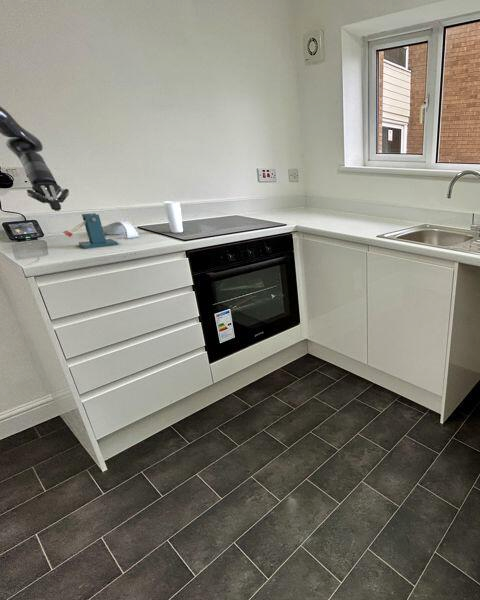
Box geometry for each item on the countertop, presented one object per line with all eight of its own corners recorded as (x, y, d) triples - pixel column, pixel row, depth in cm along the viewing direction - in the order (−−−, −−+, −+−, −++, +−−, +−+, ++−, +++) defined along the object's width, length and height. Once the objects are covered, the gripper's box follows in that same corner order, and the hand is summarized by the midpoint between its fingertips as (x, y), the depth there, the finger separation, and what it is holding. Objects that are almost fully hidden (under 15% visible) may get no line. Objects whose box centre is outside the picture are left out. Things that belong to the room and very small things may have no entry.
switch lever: (71, 238, 139) (65, 233, 138) (67, 235, 143) (61, 231, 141) (99, 220, 145) (94, 215, 143) (94, 218, 148) (89, 213, 147)
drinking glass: (183, 230, 184) (178, 201, 178) (186, 232, 179) (180, 202, 174) (168, 231, 180) (162, 201, 174) (170, 234, 175) (164, 203, 170)
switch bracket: (85, 248, 142) (76, 216, 138) (79, 245, 147) (69, 214, 143) (118, 244, 151) (110, 214, 146) (110, 241, 156) (103, 212, 151)
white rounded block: (94, 233, 169) (90, 218, 166) (122, 230, 179) (118, 216, 176) (119, 240, 159) (115, 224, 156) (147, 236, 168) (144, 221, 166)
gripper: (16, 168, 135) (33, 204, 133) (61, 169, 145) (78, 202, 143) (18, 182, 140) (35, 217, 138) (62, 182, 150) (78, 214, 147)
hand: (57, 209), depth 140 cm, fingers closed
